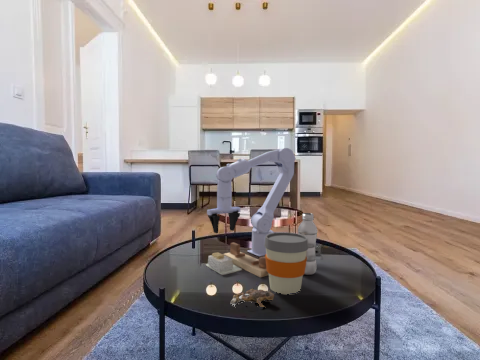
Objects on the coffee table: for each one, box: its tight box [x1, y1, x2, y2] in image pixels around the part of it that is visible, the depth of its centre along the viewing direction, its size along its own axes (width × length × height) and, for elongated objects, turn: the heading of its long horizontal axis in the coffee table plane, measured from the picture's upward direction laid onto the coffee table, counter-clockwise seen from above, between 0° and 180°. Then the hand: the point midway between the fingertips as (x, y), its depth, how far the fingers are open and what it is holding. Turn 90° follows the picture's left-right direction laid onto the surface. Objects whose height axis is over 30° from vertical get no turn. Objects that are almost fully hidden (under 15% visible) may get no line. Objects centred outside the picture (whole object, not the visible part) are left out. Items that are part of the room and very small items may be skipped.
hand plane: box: [222, 242, 269, 278], centre depth 103 cm, size 7×22×6 cm, turn 36°
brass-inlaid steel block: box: [207, 251, 234, 273], centre depth 99 cm, size 5×8×4 cm, turn 35°
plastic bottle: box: [297, 212, 318, 276], centre depth 96 cm, size 6×7×20 cm
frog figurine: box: [230, 287, 275, 307], centre depth 76 cm, size 12×12×4 cm
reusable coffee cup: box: [264, 231, 308, 295], centre depth 84 cm, size 13×13×15 cm
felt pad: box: [205, 263, 243, 276], centre depth 100 cm, size 8×11×1 cm
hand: (224, 231), depth 114 cm, fingers open, 7 cm apart
